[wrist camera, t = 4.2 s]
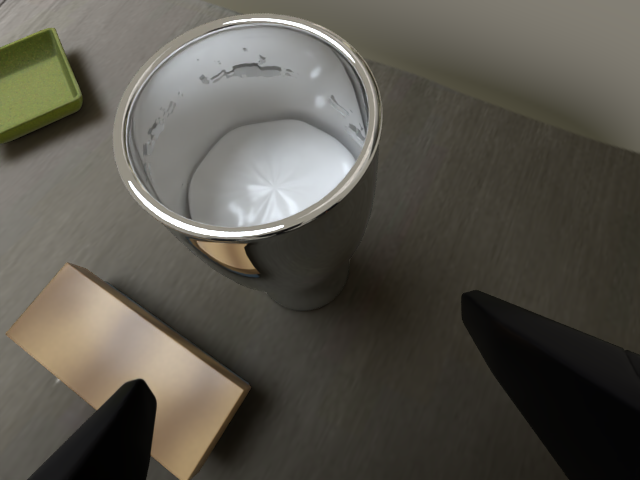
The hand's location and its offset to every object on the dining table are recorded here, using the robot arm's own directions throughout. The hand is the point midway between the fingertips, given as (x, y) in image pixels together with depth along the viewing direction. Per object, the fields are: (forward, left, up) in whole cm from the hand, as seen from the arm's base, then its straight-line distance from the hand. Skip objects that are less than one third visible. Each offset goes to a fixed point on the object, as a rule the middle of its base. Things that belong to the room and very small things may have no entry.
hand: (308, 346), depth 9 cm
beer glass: (+3, -4, -12) cm, 13 cm away
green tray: (+30, -9, -12) cm, 33 cm away
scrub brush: (+10, +5, -12) cm, 16 cm away
